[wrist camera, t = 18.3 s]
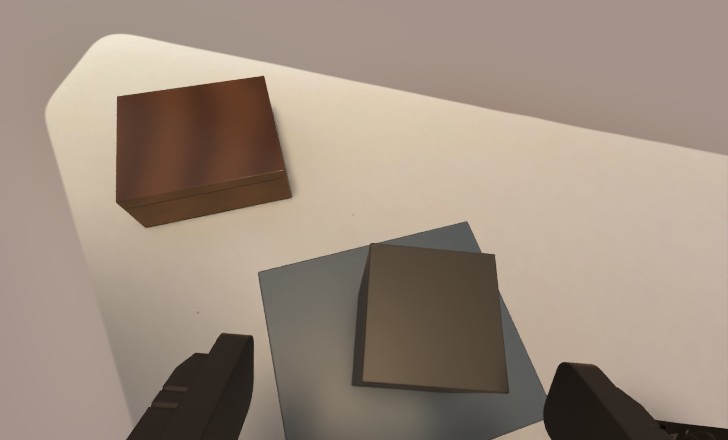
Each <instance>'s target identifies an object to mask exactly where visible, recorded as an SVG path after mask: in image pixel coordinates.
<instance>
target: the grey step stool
mask: <svg viewBox="0 0 728 440" xmlns="http://www.w3.org/2000/svg"><path fill="white" fill-rule="evenodd" d="M376 244H387V245H398V246H409V247H419V248H430V249H441V250H452V251H463V252H474V253H481V250H480V248H479V246H478V244H477V242H476V239H475V237H474V235H473V233H472V231H471V228H470V226H469V224H468V222H467V221H466V222H462V223H458V224H454V225H450V226H446V227H442V228H437V229H433V230H429V231H425V232H421V233H417V234H413V235H409V236H405V237H400V238H396V239H392V240H388V241H384V242H380V243H376ZM369 247H370V245H368V246H363V247H359V248H355V249H351V250H347V251H343V252H339V253H335V254H331V255H326V256H322V257H318V258H314V259H310V260H306V261H302V262H298V263H294V264H290V265H285V266H281V267H277V268H273V269H269V270H265V271H261V272H258V276H259V282H260V288H261V294H262V300H263V306H264V312H265V318H266V324H267V330H268V336H269V342H270V348H271V354H272V360H273V366H274V372H275V378H276V384H277V390H278V396H279V402H280V408H281V414H282V420H283V426H284V432H285V438H286V440H491V439H494V438H497V437H499V436H502V435H505V434H507V433H510V432H513V431H515V430H518V429H521V428H523V427H526V426H529V425H531V424H534V423H536V422H539V421H542V420H544V419H543V408H544V404H545V401H546V399H547V395H546V393H545V391H544V389H543V387H542V384H541V382H540V380H539V378H538V376H537V373H536V371H535V369H534V367H533V365H532V362H531V360H530V358H529V356H528V354H527V351H526V349H525V347H524V345H523V343H522V340H521V338H520V336H519V334H518V332H517V329H516V327H515V325H514V323H513V321H512V318H511V316H510V314H509V312H508V310H507V307H506V305H505V303H504V301H503V299H502V296H501V294H500V292H499V300H500V309H501V319H502V328H503V338H504V347H505V357H506V366H507V376H508V385H509V393H508V394H500V393H440V392H427V391H414V390H401V389H387V388H374V387H361V386H352V371H353V358H354V345H355V332H356V318H357V305H358V293H359V289H360V285H361V281H362V277H363V273H364V268H365V264H366V260H367V256H368V252H369Z"/></svg>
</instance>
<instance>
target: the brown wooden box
mask: <svg viewBox="0 0 728 440" xmlns="http://www.w3.org/2000/svg"><path fill="white" fill-rule="evenodd" d="M291 197H292V196H291V191H290V187H289V182H288V178H287V174H286V169H285V165H284V160H283V156H282V152H281V147H280V143H279V139H278V134H277V130H276V126H275V121H274V117H273V113H272V108H271V104H270V100H269V95H268V91H267V87H266V82H265V78H264V76H260V77H252V78H245V79H238V80H231V81H224V82H217V83H210V84H203V85H196V86H188V87H181V88H174V89H167V90H160V91H153V92H146V93H139V94H132V95H125V96H117V155H116V203H117V204H118V205H120V206H121V207H122V208H123V209H124V210H125V211H127V212H128V213H129V214H130V215H131V216H132V217H134V218H135V219H136V220H137V221H138V222H139V223H140V224H142V225H143V226H144V227H145V228H146V227H151V226H156V225H161V224H166V223H170V222H175V221H180V220H185V219H190V218H194V217H199V216H204V215H209V214H214V213H218V212H223V211H228V210H233V209H238V208H243V207H247V206H252V205H257V204H262V203H267V202H271V201H276V200H281V199H286V198H291Z"/></svg>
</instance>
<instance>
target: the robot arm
mask: <svg viewBox="0 0 728 440" xmlns="http://www.w3.org/2000/svg"><path fill="white" fill-rule="evenodd" d="M253 381H254V340H253V336H252V335H240V334H228V333H222V334H221V335H220V336H219V337H218V339H217V340H216V342H215V344H214V345H213V347H212V349H211V350H210V352H209V354H203V353H194V354H193V355H192V356H191V357H189V358H188V359H187V360H185V361H184V362H183V363H181V364H180V365H179V366H177V367H176V368H175V370H174V371H173V373H172V374H171V376H170V377H169V378H168V380H167V381H166V383H165V384H164V386H163V389H162V391H161V390H160V391H159V393H158V394H157V396H156V397H155V399H154V400H153V402H152V405H151V407H148V409H147V410H146V412H145V413H144V415H143V416H142V418H141V419H140V421H139V422H138V423H137V425H136V426H135V428H134V429H133V431H132V432H131V434H130V435H129V437H128V438H127V439H126V440H238V437H239V435H240V432H241V429H242V426H243V424H244V421H245V418H246V415H247V413H248V410H249V406H250V402H251V398H252V392H253ZM543 419H544V424H545V428H546V430H547V433H548V435H549V436H550V438H551V440H673V439H672V438H671V437H670V436H669V435H668V434H667V433H666V431H665V430H664V429H660V425H659V424H658V423H657V422H656V421H655V420H654V418H653V417H652V416H651V415H650V414H649V413H648V412H647V411H646V410H645V409H644V408H643V406H642V405H641V404H639V403H638V402H637V401H635V400H634V399H633V398H631V397H630V396H628V395H627V394H626V393H624V392H623V391H622V390H620V389H619V388H617V387H616V386H615V385H614V384H613V383H612V382H611V381H610V380H609V379H608V377H607V376H606V375H605V374H604V373H603V372H602V371H601V370H600V369H599V368H598V367H597V366H595V365H592V364H582V363H570V362H563V363H561V364H560V365H559V366H558V368H557V370H556V373H555V376H554V379H553V382H552V384H551V387H550V390H549V393H548V396H547V399H546V401H545V404H544V408H543Z"/></svg>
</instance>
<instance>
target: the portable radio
mask: <svg viewBox="0 0 728 440" xmlns="http://www.w3.org/2000/svg"><path fill="white" fill-rule="evenodd" d="M655 421H656V422H657V423H658V424H659V425H660V429H664V430H665V431H666V433H667V434H668V435H669V436H670V437H671V438H672V439H673V440H728V429H725V428H716V427H707V426H698V425H689V424H681V423H673V422H666V421H659V420H655Z"/></svg>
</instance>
